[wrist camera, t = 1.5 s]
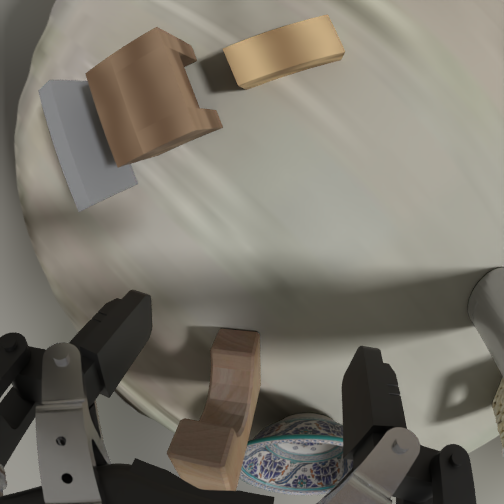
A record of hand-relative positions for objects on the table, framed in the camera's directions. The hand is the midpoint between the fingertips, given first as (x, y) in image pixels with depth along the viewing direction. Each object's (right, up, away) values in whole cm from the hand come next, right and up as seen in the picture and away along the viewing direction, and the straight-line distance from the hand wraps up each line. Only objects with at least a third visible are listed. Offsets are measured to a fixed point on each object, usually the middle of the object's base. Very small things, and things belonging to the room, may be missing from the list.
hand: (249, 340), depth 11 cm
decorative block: (-1, -12, +31) cm, 33 cm away
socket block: (-8, +19, +18) cm, 27 cm away
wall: (-16, +17, +20) cm, 31 cm away
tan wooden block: (+3, +22, +14) cm, 27 cm away
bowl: (+10, -28, +36) cm, 47 cm away
